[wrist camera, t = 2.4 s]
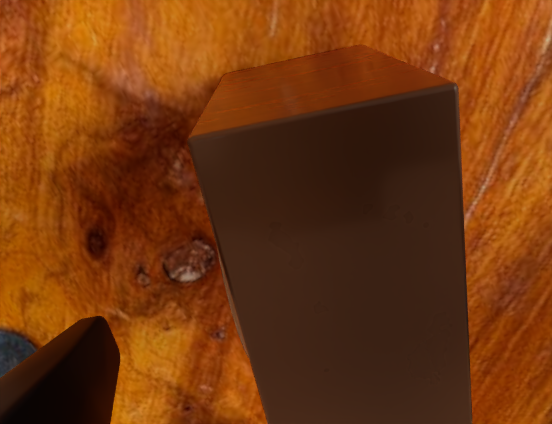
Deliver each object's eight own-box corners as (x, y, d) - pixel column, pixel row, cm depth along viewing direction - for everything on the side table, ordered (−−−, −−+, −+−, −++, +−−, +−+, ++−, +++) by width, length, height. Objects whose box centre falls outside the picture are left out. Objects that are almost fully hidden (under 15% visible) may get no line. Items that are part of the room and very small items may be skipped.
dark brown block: (268, 281, 16) (271, 466, 10) (217, 74, 13) (175, 140, 7) (389, 259, 16) (474, 433, 9) (363, 43, 13) (460, 81, 7)
